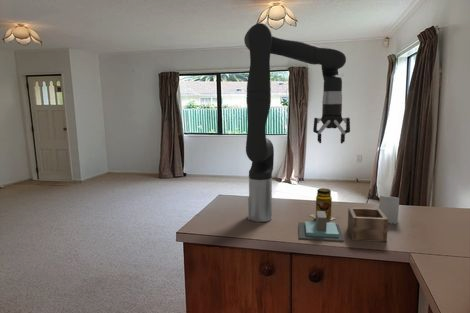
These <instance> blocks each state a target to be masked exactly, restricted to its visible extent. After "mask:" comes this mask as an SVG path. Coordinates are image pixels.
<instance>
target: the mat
mask: <svg viewBox="0 0 470 313" xmlns="http://www.w3.org/2000/svg"><path fill="white" fill-rule="evenodd" d="M335 224H336V227H337V230H338V233H339V237H322V236H306V227H305V221H303V222H301V221H299V222H298V240H304V239H309V241H321V240H324V241H325V242H326V241H327V242H337V241H343V242H342V243H344V242H345V239H344V237H343V236H344V235H343V233H342V230H341V227H340V224H339V223H335Z"/></svg>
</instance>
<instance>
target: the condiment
mask: <svg viewBox="0 0 470 313" xmlns="http://www.w3.org/2000/svg"><path fill="white" fill-rule="evenodd" d="M316 192H317V193H316V197H315V200H316V201H315V213H314V214H313V213H312V214H309V216H310V217H312V218H313V219H315V220H316V215H317V211H325V213H326V217H327V222H328V221H329V222H330V221H333V220H336V219H337V218H336V217H333V216H332V203H333V202H332V194H331V192H332V190H331V189H329V188H323V187H322V188H318V189H317V190H316Z"/></svg>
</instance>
